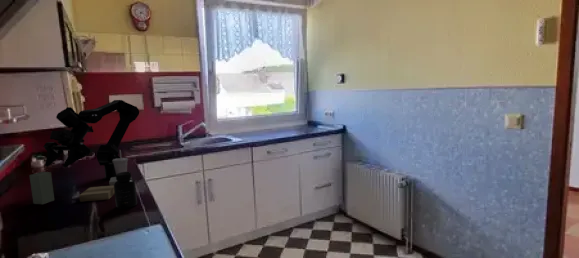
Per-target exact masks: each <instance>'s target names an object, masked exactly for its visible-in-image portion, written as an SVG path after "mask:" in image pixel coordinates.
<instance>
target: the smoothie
mask: <svg viewBox="0 0 579 258" xmlns="http://www.w3.org/2000/svg"><path fill="white" fill-rule="evenodd" d="M118 151H119V157H120V158H118V159H114V160H112V161H113V163H114V168H115V172H116V174H118V173H121V172H128V161H129V159H128V157H122V150H121V149H118Z"/></svg>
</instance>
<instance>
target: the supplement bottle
mask: <svg viewBox="0 0 579 258" xmlns="http://www.w3.org/2000/svg"><path fill="white" fill-rule="evenodd" d="M131 177H132V173H131V172H130V171H127V172H121V173H118V174H116V180H117V181H116V182H115V183H114V193H115V194H114V198H115V199H114V200H115V207H116V208H117V209H118V210H125V209H132V208H133V207H136V206H137V204H138V199H137V188H136V182H135V180H134V179H133V178H132V179H131Z"/></svg>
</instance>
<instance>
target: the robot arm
mask: <svg viewBox="0 0 579 258" xmlns="http://www.w3.org/2000/svg"><path fill="white" fill-rule="evenodd" d="M114 112H117V113H118V117H119V120H118V122H117V124H116V125H115V128H114V129H113V132H112V134H111V135H110V138H108V141H107V143H106V144H101V145H99V147H98V149H97V151H96V157H95V158H96V160H97V162H98V164H99V166H101V167H102V166H103V167H104V177H103V178H102V180H110V179H111V178H112V177H116V172H115V168H114V163H113V161H112V160H114V159H118V158H120V151H119V146H120V144H121V142H122V140H123V138H124V136H125V134H126V132H127V130H128V128H129V126H130V124H131V123H132V122H134V121H136V119H137V118H138V117H139V116H140V115H139V114H140V110H139V108H138V107H137V106H136V105H134V104H130V103H129V102H126V101H125V100H122V99H114V100H113V101H111V102H108V103H105V104H103V105H100V106H98V107H96V108H89V109H84V110H80V111H79V112H78V113H77V112H76V111H75V110H74V109H73V107H71V106H70V107H66V108H65V109H63V110H61V111H60V112H58V113H57V114H56V117H55V118H56V120H58V121H59V122H60V123H61V124H62V125H63V126H65V127H66V128H68V129H64V130H51V131H50V136H49V139H50V140H55V142H54V141H48V142H45V143H44V145H43V148H44V150H45V151H46V152H47V153H46V160H45V163H44V166H45V167H46V168H48V167H50V166H51V165H52V164H53V163H54V162H55V161H57V160H58V159H59V158H60V157H61V155H62V154H63V152H64V151H67V152H69V154H68V156H67V157H66V159H65V160H64V163H63V164H62V167H63V168H65V169H66V168H67V167H69V166H70V165H72V164H74V163H75V162H77V161H79V160H81V159H83V158H85V157H86V156H89V155H90V154H91V148H90V147H88V146H87V145H86V144H85V143H84V142H85V140H84V138H85V137H86V136H87V133H94V129H93V126H92V125H89V124H97V123H98V122H100V121H101V120H102V119H103V117H105V116H107V115H109V114H112V113H114ZM56 141H57V142H56Z"/></svg>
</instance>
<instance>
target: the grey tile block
mask: <svg viewBox="0 0 579 258" xmlns="http://www.w3.org/2000/svg"><path fill="white" fill-rule="evenodd" d="M132 177H133V176H131V179H133V178H132ZM116 181H117V180H116V177H112V178H111V179H109V182H108V184H109V185H108V186H112V185H114V183H115V182H116Z"/></svg>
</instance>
